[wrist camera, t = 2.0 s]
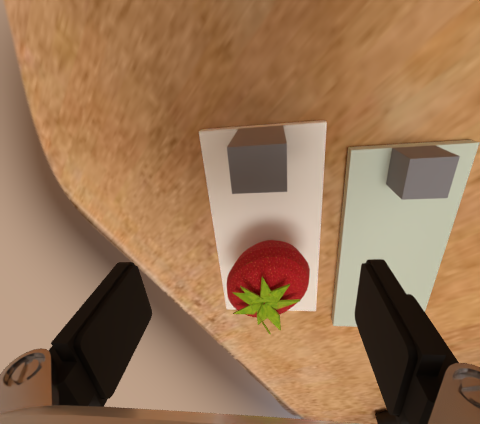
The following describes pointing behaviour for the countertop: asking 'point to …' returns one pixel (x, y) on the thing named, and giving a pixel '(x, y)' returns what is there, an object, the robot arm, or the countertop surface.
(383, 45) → the countertop surface
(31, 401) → the robot arm
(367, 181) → the pale green board
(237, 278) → the strawberry
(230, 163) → the white serving board
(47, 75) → the countertop surface
